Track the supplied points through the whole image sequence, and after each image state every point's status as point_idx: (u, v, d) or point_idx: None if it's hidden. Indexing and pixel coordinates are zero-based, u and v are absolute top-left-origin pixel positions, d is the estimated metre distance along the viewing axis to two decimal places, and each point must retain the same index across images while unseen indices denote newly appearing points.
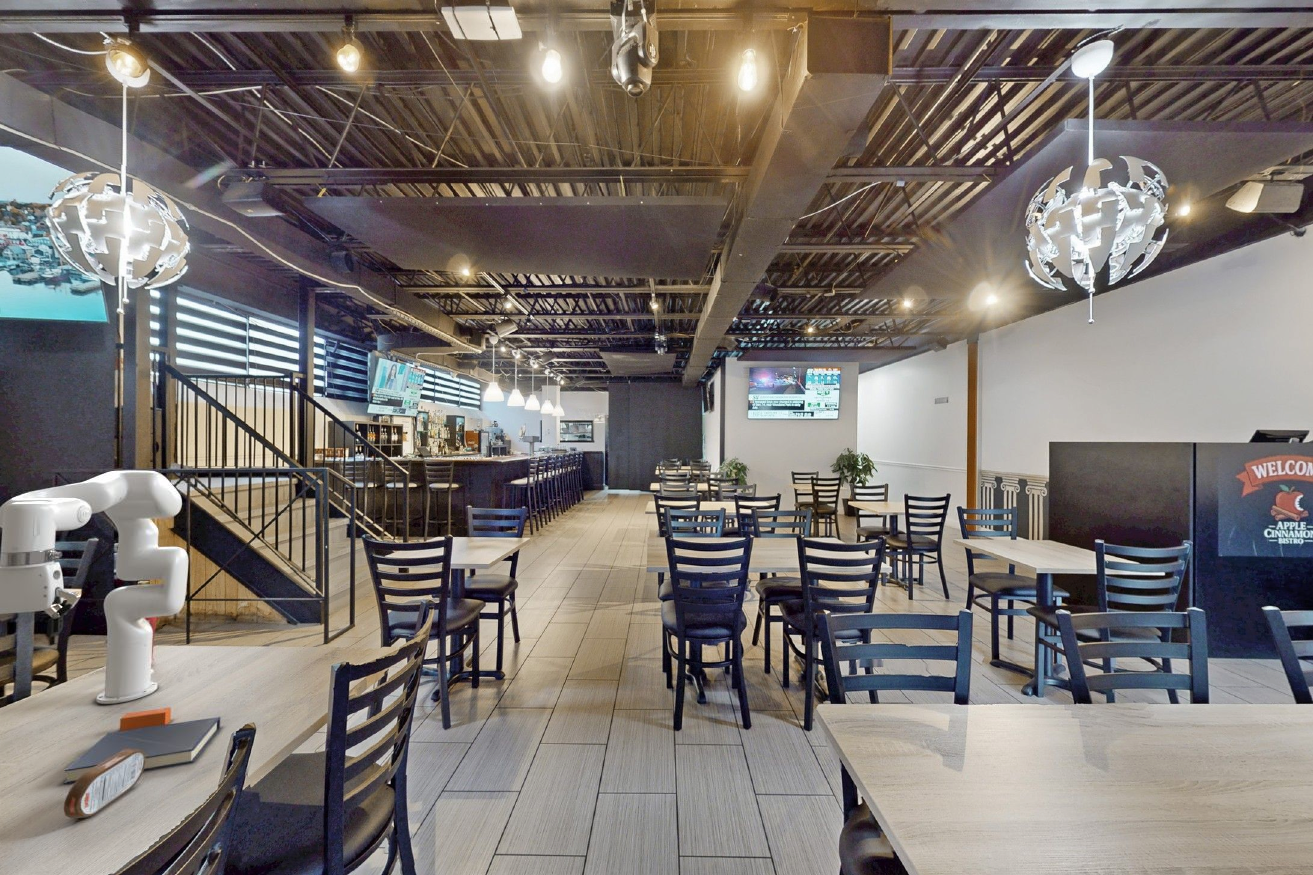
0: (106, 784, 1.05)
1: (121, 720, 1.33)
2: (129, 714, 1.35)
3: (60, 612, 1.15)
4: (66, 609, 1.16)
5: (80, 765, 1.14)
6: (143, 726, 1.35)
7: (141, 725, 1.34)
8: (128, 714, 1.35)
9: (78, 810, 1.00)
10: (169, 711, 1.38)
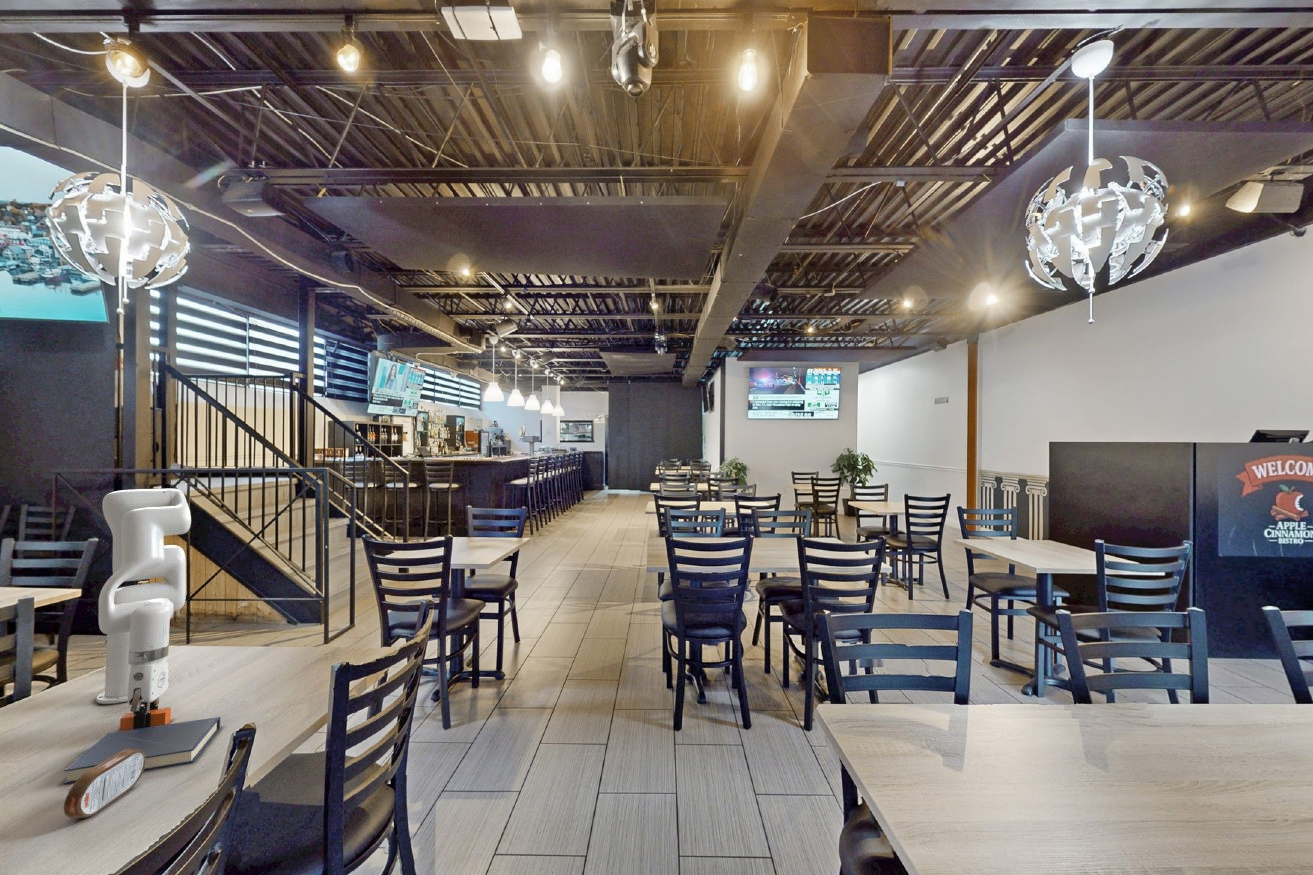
0: (106, 784, 1.05)
1: (121, 720, 1.33)
2: (129, 714, 1.35)
3: None
4: None
5: (80, 765, 1.14)
6: None
7: None
8: (128, 714, 1.35)
9: (78, 810, 1.00)
10: (169, 711, 1.38)
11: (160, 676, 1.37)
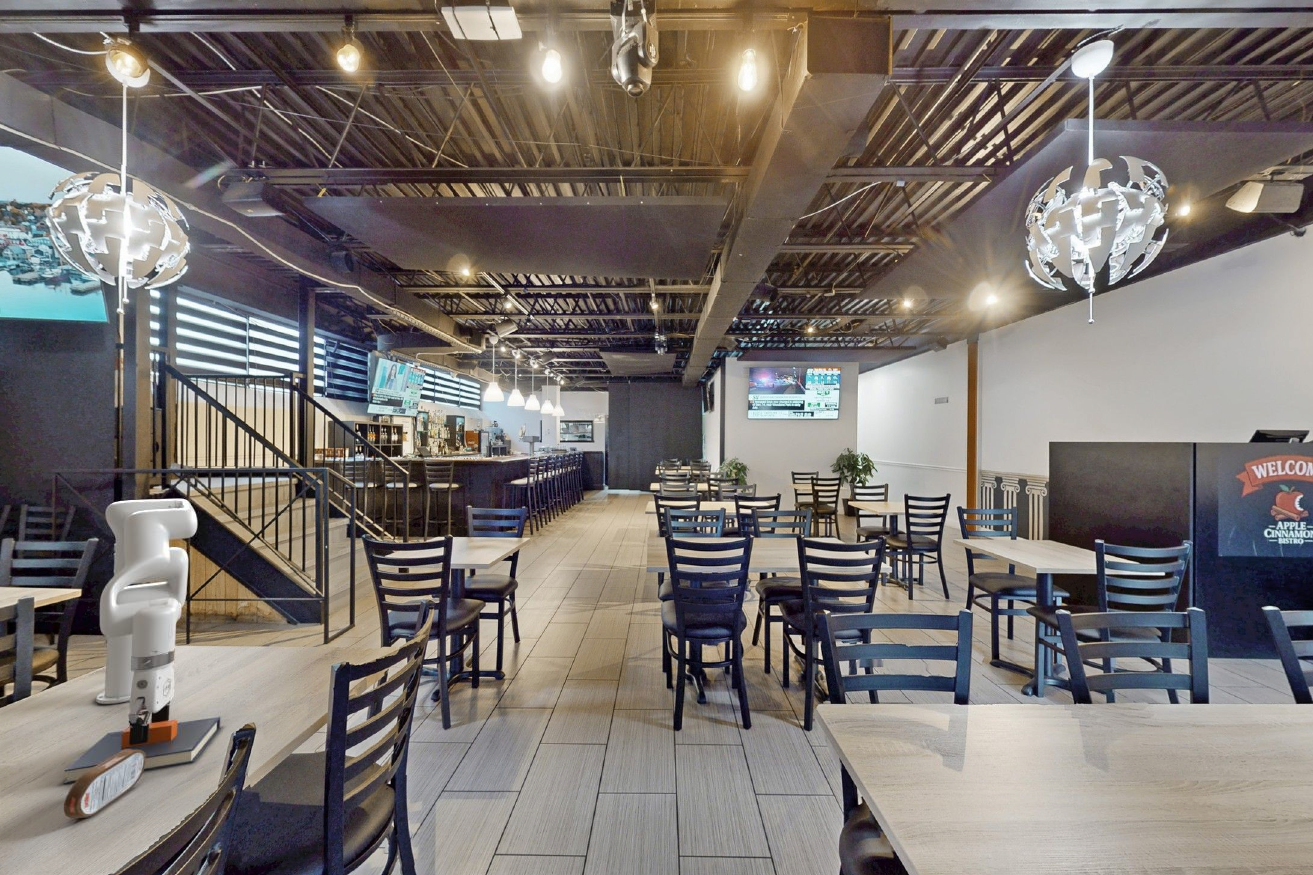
0: (106, 784, 1.05)
1: (123, 734, 1.21)
2: None
3: None
4: None
5: (80, 765, 1.14)
6: None
7: None
8: None
9: (78, 810, 1.00)
10: (175, 724, 1.26)
11: (165, 683, 1.25)
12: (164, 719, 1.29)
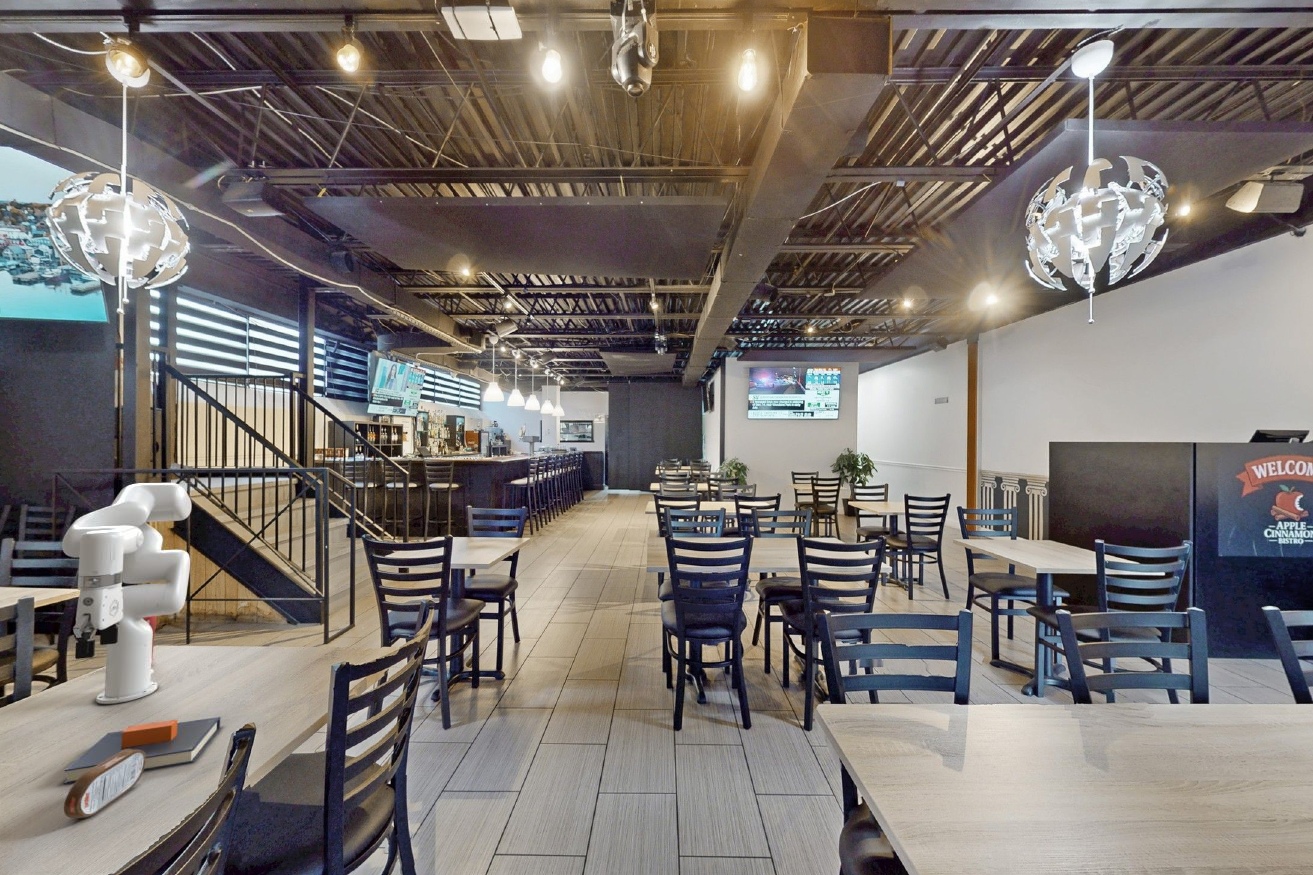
0: (106, 784, 1.05)
1: (123, 734, 1.21)
2: (132, 727, 1.23)
3: None
4: None
5: (80, 765, 1.14)
6: (147, 740, 1.23)
7: (144, 739, 1.22)
8: (131, 727, 1.23)
9: (78, 810, 1.00)
10: (175, 724, 1.26)
11: (113, 604, 1.30)
12: (113, 640, 1.34)
